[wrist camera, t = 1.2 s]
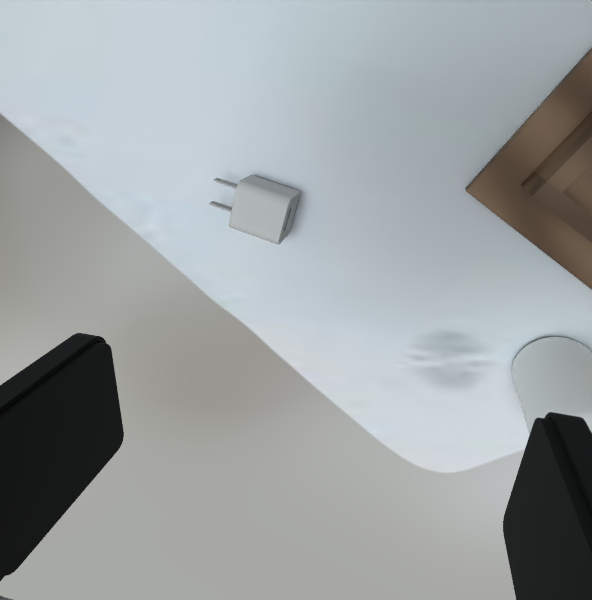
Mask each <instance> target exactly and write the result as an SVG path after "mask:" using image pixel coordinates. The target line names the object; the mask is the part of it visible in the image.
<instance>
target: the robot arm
mask: <svg viewBox="0 0 592 600" xmlns="http://www.w3.org/2000/svg"><path fill="white" fill-rule="evenodd" d="M123 437H124V432H123V425H122V419H121V412H120V405H119V399H118V392H117V385H116V379H115V372H114V365H113V358H112V351H111V347H110V346H109V345H108V344H106V342H105V340H104V338H102V337H100V336H94V335H88V334H82V333H77V334H75V335H73V336H71V337H70V338H68V339H67V340H65V341H64V342H63V343H61V344H60V345H58V346H57V347H56V348H54V349H52V350H51V351H49V352H48V353H47V354H45V355H44V356H42V357H41V358H39V359H38V360H36V361H35V362H34V363H32V364H31V365H29V366H28V367H26V368H25V369H23V370H22V371H20V372H19V373H18V374H16V375H15V376H13V377H12V378H11V379H9V380H7V381H6V382H5V383H3V384H2V385H0V581H1V580H2V579H3V577H4V576H5V575H10V574H11V573H13V572H14V571H15V570H16V569H17V568H18V567H19V566H20V565H21V564H22V562H23V561H24V560H25V559H26V558H27V556H28V555H29V554H30V553H31V552H32V551H33V550H34V548H35V547H36V546H37V545H38V544H39V542H40V541H41V540H42V539H43V537H45V535H46V534H47V533H48V532H49V531H50V530H51V528H52V527H53V526H54V525H55V524H56V522H57V521H58V520H59V519H60V518H61V517H62V515H63V514H64V513H65V512H66V511H67V509H68V508H69V507H70V506H71V505H72V503H73V502H74V501H75V500H76V499H77V498H78V497H79V495H80V494H81V493H82V492H83V491H84V489H85V488H86V487H87V486H88V485H89V484H90V482H91V481H92V480H93V479H94V478H95V477H96V475H97V474H98V473H99V472H100V471H101V470H102V468H103V467H104V466H105V465H106V464H107V462H108V461H109V460H110V459H111V458H112V457H113V455H114V454H115V453H116V452H117V451H118V449H119V448H120V446H121V444H122V441H123ZM503 532H504V538H505V544H506V548H507V554H508V559H509V564H510V569H511V574H512V580H513V585H514V590H515V595H516V600H592V433H591V431H590V429H589V427H588V425H587V423H586V421H585V420H584V419H583V418H581V417H577V416H571V415H566V414H560V413H554V412H549V413H547V415H546V416H545V418H536V419H535V421H534V423H533V426H532V429H531V433H530V436H529V439H528V442H527V445H526V448H525V451H524V455H523V458H522V461H521V464H520V467H519V471H518V474H517V477H516V480H515V483H514V486H513V489H512V492H511V496H510V499H509V502H508V505H507V508H506V511H505V515H504V521H503ZM0 600H12V599H8V598H5V597H2V596H0Z"/></svg>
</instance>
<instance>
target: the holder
mask: <svg viewBox="0 0 592 600" xmlns="http://www.w3.org/2000/svg"><path fill="white" fill-rule="evenodd" d="M466 191H467V192H468V193H469V194H471V195H472V196H473V197H474V198H476V199H477V200H478V201H479V202H481V203H482V204H483V205H485V206H486V207H487V208H488V209H490V210H491V211H492V212H493V213H495V214H496V215H497V216H499V217H500V218H501V219H502V220H504V221H505V222H506V223H508V224H509V225H510V226H511V227H513V228H514V229H515V230H516V231H518V232H519V233H520V234H522V235H523V236H524V237H525V238H527V239H528V240H529V241H531V242H532V243H533V244H534V245H536V246H537V247H538V248H539V249H541V250H542V251H543V252H545V253H546V254H547V255H548V256H550V257H551V258H552V259H553V260H555V261H556V262H557V263H559V264H560V265H561V266H562V267H564V268H565V269H566V270H568V271H569V272H570V273H571V274H573V275H574V276H575V277H576V278H578V279H579V280H580V281H582V282H583V283H584V284H585V285H587V286H588V287H589V288H591V289H592V48H591V49H590V50H589V51H588V53H587V54H586V55H585V56H584V57H583V58H582V59H581V60H580V62H579V63H578V64H577V65H576V66H575V67H574V68H573V69H572V70H571V72H570V73H569V74H568V75H567V76H566V77H565V78H564V79H563V80H562V82H561V83H560V84H559V85H558V86H557V87H556V88H555V89H554V90H553V92H552V93H551V94H550V95H549V96H548V97H547V98H546V99H545V101H544V102H543V103H542V104H541V105H540V106H539V107H538V108H537V109H536V111H535V112H534V113H533V114H532V115H531V116H530V117H529V118H528V119H527V121H526V122H525V123H524V124H523V125H522V126H521V127H520V128H519V129H518V131H517V132H516V133H515V134H514V135H513V136H512V137H511V138H510V139H509V141H508V142H507V143H506V144H505V145H504V146H503V147H502V148H501V150H500V151H499V152H498V153H497V154H496V155H495V156H494V157H493V158H492V160H491V161H490V162H489V163H488V164H487V165H486V166H485V167H484V168H483V170H482V171H481V172H480V173H479V174H478V175H477V176H476V177H475V178H474V180H473V181H472V182H471V183H470V184H469V185H468V186H467V187H466Z"/></svg>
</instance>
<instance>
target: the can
mask: <svg viewBox="0 0 592 600" xmlns="http://www.w3.org/2000/svg"><path fill="white" fill-rule="evenodd" d="M512 376H513V380H514V384H515V387H516V391H517V394H518V398H519V401H520V404H521V408H522V411H523V414H524V417H525V421H526V424H527V427H528V430H529V434H530V433H531V429H532V426H533V423H534V421H535V419H536V418H545V416H546V415H547V413H549V412H554V413H560V414H566V415H571V416H577V417H581V418H583V419H584V420H585V421H586V423H587V425H588V427H589V429H590V431H591V433H592V353H591V352H590V350H589V349H588V348H587V347H586V346H584V345H583V344H581V343H579V342H577V341H574V340H571V339H568V338H563V337H548V338H543V339H539V340H537V341H534V342H532V343H530V344H528V345H527V346H525V347H524V348H523V349H522V350H521V351H520V352H519V353H518V354H517V356H516V357H515V359H514V362H513V365H512Z"/></svg>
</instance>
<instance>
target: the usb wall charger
mask: <svg viewBox="0 0 592 600" xmlns="http://www.w3.org/2000/svg"><path fill="white" fill-rule="evenodd" d="M214 181H216V182H218V183H221V184H224V185H227V186H229V187H232V188H235V189H236V191H235V196H234V201H233V206H232V207H229V206H226V205H223V204H220V203H217V202H214V201H212V202H210V203H209V204H210V205H213V206H216V207H218V208H221V209H224V210H227V211H229V212H231V216H230V220H229V227H231V228H233V229H236V230H239V231H242V232H245V233H248V234H250V235H253V236H256V237H259V238H262V239H264V240H267V241H270V242H273V243H276V244H280V243H281V242H282V241H283V240H284V239H285V238H286V237H287V236H288V234H289V232H290V230H291V226H292V223H293V219H294V216H295V212H296V208H297V205H298V201H299V197H300V191H298V190H295V189H292V188H289V187H286V186H283V185H280V184H277V183H274V182H271V181H269V180H266V179H263V178H260V177H257V176H254V175H250V176H248V177H246V178H244V179H242V180H241V181H240V182H239V183H238V185H237V184H234V183H231V182H228V181H225V180H222V179H219V178H216V179H214Z"/></svg>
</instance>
